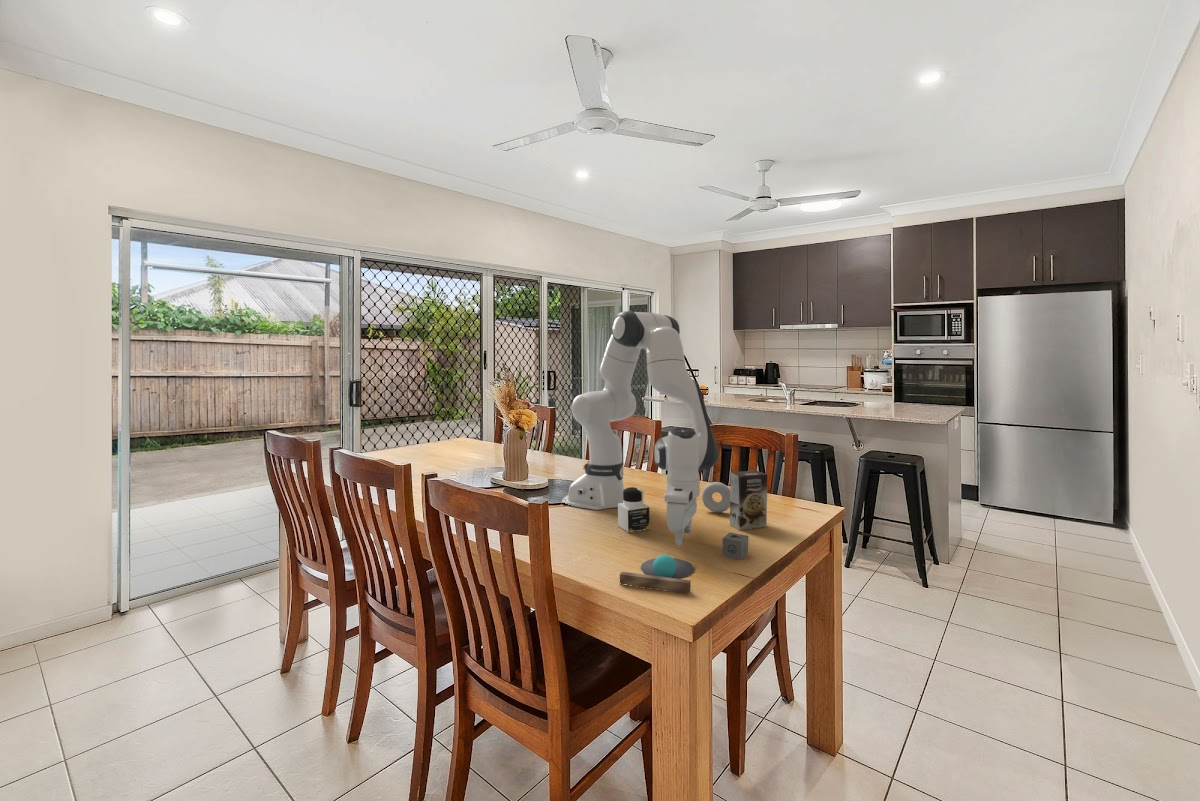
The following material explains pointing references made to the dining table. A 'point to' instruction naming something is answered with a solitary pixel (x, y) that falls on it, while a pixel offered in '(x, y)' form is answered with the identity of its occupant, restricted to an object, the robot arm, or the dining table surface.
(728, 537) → the gray cube
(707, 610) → the dining table surface
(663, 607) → the dining table surface
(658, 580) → the stopper strip
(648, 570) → the disc
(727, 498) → the donut
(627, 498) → the medicine bottle
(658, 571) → the ball
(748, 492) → the cookie box
